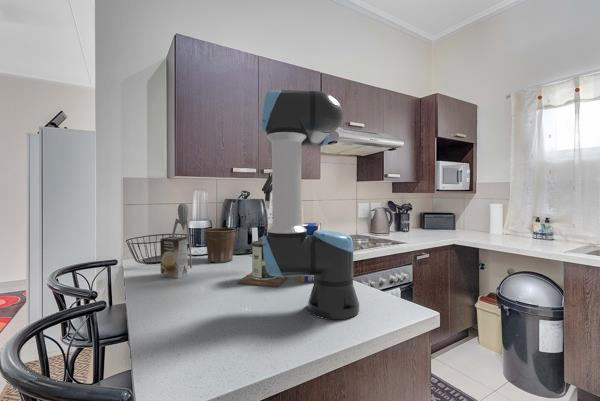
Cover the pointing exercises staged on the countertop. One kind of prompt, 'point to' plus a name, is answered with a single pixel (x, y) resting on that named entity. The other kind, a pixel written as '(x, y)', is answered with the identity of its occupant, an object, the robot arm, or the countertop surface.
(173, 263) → the coffee box
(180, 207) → the citrus juicer
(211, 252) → the plant pot
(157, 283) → the countertop surface
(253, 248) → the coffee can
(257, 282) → the walnut board
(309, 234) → the beverage box
